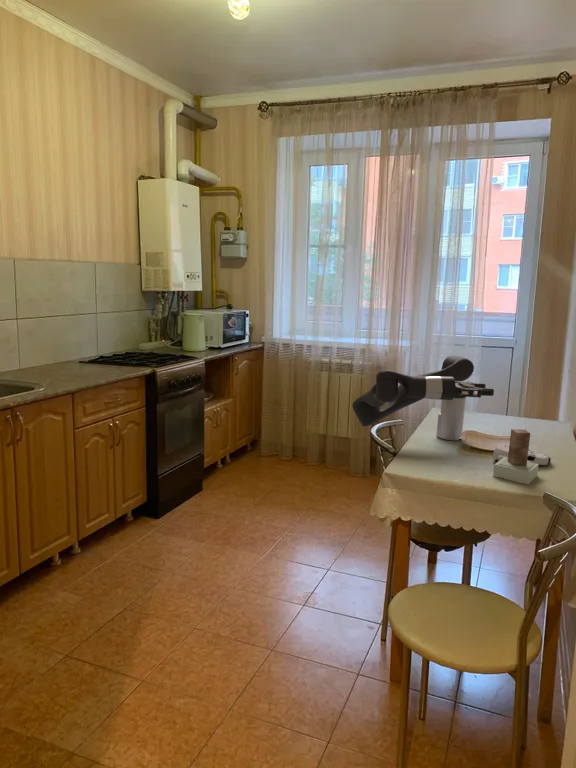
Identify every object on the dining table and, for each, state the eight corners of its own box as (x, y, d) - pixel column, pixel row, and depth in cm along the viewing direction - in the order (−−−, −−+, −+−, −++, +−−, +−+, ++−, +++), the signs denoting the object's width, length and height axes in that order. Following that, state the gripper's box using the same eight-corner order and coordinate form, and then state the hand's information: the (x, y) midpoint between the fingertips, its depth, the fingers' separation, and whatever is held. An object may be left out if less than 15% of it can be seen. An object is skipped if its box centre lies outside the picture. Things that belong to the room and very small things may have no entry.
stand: (493, 476, 186) (494, 463, 185) (503, 468, 195) (504, 456, 194) (528, 484, 180) (529, 471, 179) (537, 475, 188) (538, 463, 188)
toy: (477, 451, 213) (500, 466, 193) (480, 439, 212) (503, 453, 192) (533, 460, 214) (561, 476, 194) (536, 448, 214) (564, 463, 194)
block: (512, 465, 184) (516, 432, 182) (507, 461, 189) (511, 428, 187) (526, 466, 184) (530, 433, 182) (521, 461, 189) (525, 429, 187)
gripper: (432, 394, 191) (481, 396, 190) (442, 404, 177) (495, 405, 176) (434, 372, 189) (483, 374, 189) (444, 380, 176) (497, 382, 175)
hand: (489, 389), depth 183 cm, fingers open, 8 cm apart
